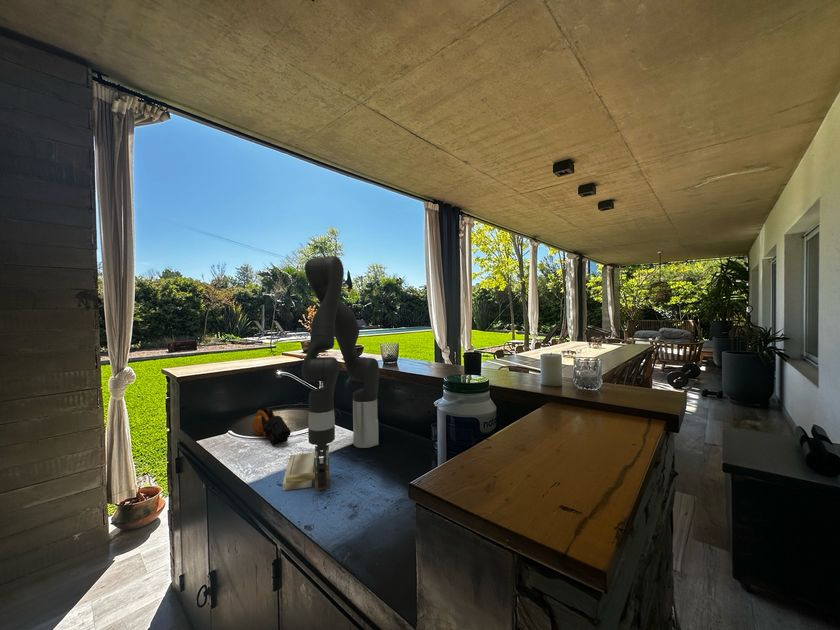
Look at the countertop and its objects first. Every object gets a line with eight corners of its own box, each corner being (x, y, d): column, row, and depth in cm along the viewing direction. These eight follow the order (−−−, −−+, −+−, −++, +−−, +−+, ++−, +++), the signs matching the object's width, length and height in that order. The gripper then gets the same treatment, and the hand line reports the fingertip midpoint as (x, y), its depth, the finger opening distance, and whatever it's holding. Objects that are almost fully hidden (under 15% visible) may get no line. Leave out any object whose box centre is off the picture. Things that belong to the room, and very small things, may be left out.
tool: (269, 466, 129) (275, 433, 125) (247, 430, 143) (252, 399, 139) (290, 459, 135) (296, 427, 131) (267, 425, 149) (271, 395, 145)
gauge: (329, 480, 104) (329, 454, 104) (329, 488, 99) (329, 462, 99) (287, 485, 101) (287, 459, 101) (285, 494, 96) (284, 467, 96)
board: (314, 458, 120) (314, 452, 119) (311, 486, 100) (311, 479, 100) (290, 460, 117) (290, 454, 117) (282, 490, 98) (282, 483, 98)
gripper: (335, 432, 95) (335, 492, 95) (334, 416, 108) (335, 469, 109) (306, 434, 93) (307, 496, 93) (309, 418, 107) (310, 472, 107)
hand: (322, 481), depth 101 cm, fingers closed on gauge, 5 cm apart
